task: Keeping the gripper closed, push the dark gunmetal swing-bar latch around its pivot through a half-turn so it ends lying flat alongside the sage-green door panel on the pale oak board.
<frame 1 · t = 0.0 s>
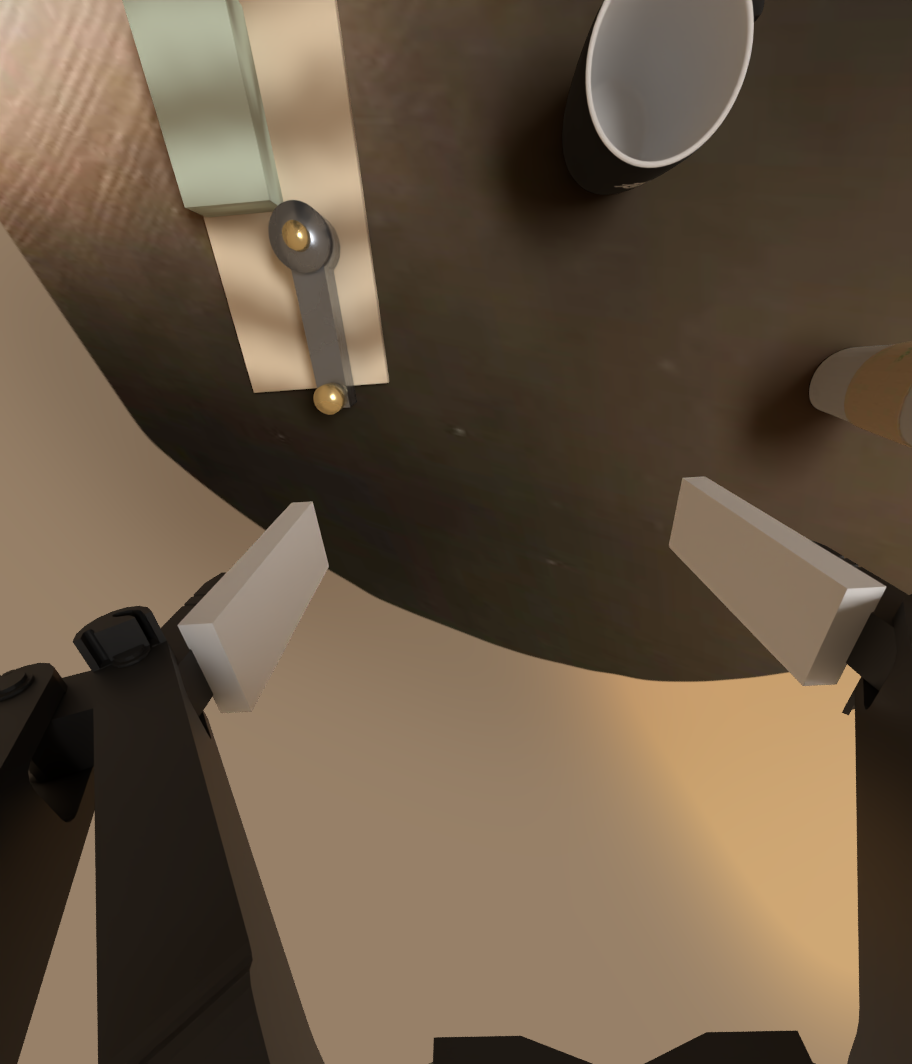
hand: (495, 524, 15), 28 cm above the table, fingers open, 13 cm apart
coffee cup: (838, 381, 39), on the table
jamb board: (289, 228, 33), on the table
latch bar: (319, 317, 33), point 3 cm above the table, hinge at 0.0°
mug: (623, 125, 30), on the table
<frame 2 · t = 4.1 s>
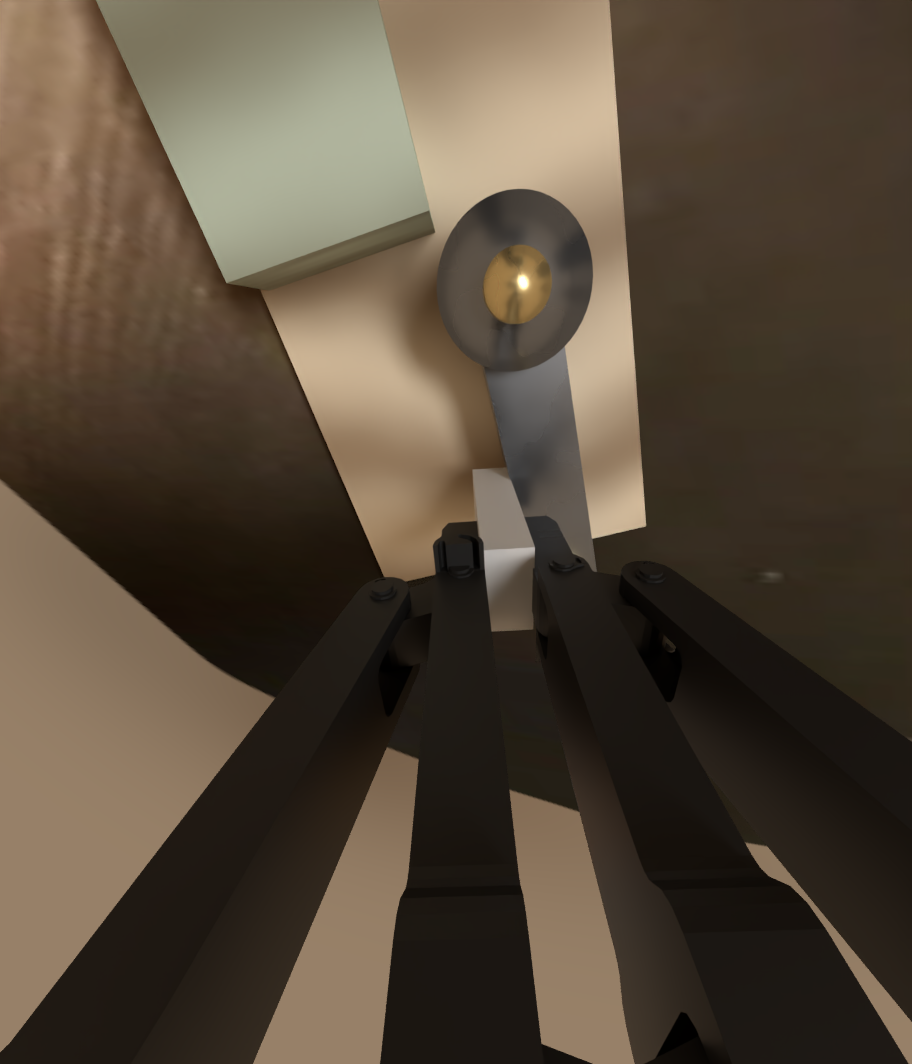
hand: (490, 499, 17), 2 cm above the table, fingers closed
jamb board: (439, 270, 15), on the table
latch bar: (539, 451, 15), point 3 cm above the table, hinge at 0.0°, touching gripper
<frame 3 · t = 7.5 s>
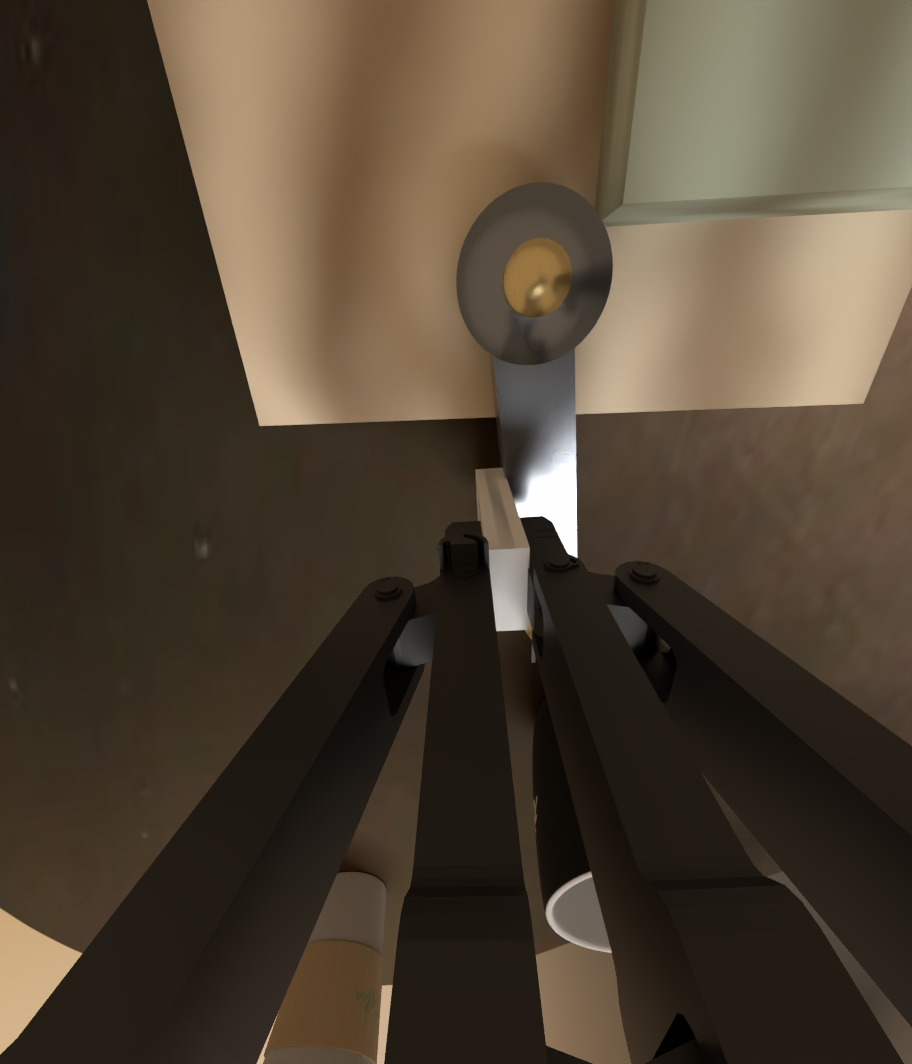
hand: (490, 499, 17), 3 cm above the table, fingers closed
coffee cup: (355, 883, 38), on the table
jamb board: (559, 227, 14), on the table
latch bar: (537, 450, 15), point 3 cm above the table, hinge at 96.0°, touching gripper
mug: (595, 721, 27), on the table
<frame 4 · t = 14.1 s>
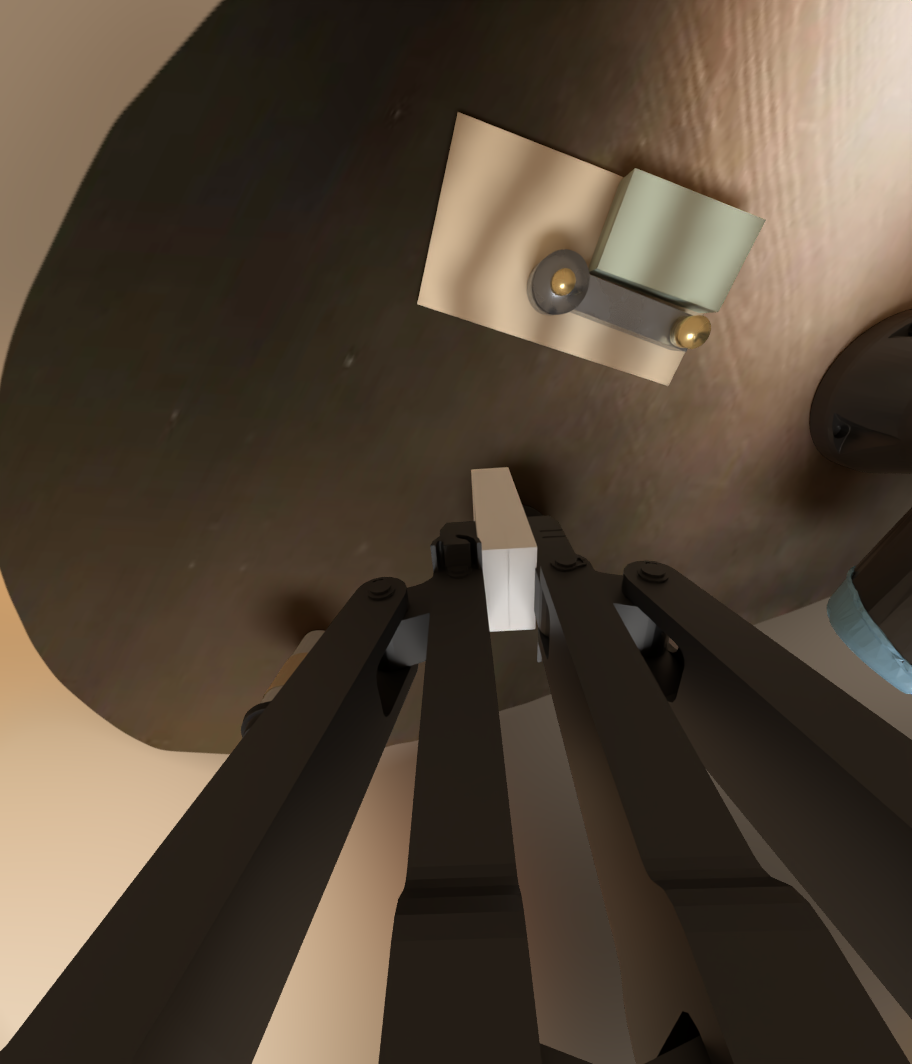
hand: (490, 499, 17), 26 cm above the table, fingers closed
coffee cup: (323, 644, 55), on the table
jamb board: (574, 267, 35), on the table
latch bar: (615, 306, 33), point 3 cm above the table, hinge at 178.4°
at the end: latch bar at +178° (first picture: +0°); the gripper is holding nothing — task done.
